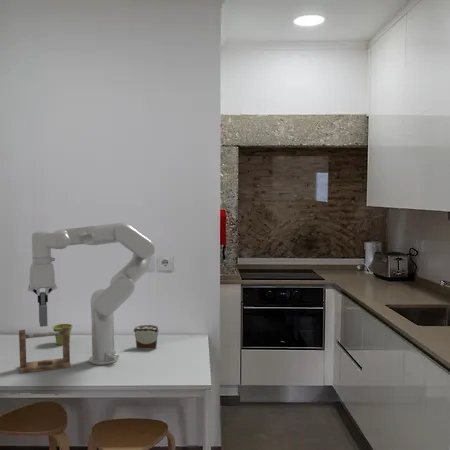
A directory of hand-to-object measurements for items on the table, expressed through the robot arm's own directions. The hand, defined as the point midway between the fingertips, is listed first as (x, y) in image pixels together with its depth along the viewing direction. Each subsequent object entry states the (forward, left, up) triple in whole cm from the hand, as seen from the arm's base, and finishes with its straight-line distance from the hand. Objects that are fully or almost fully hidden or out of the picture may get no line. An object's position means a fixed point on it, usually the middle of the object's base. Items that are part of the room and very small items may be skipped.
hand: (42, 303), depth 225 cm
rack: (0, 0, -27) cm, 27 cm away
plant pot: (+22, -26, -28) cm, 44 cm away
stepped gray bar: (0, 0, -9) cm, 9 cm away
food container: (-16, -46, -28) cm, 56 cm away
